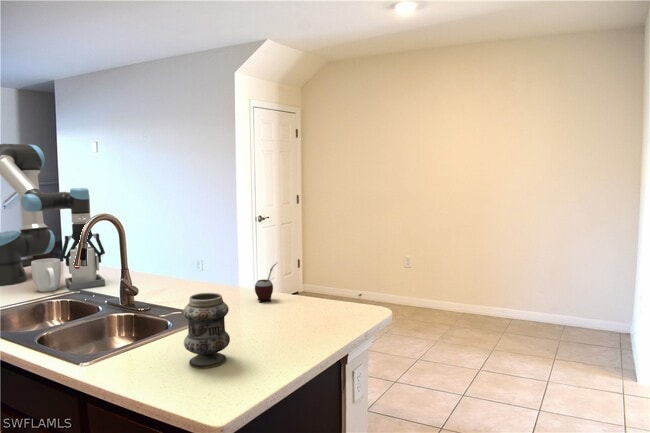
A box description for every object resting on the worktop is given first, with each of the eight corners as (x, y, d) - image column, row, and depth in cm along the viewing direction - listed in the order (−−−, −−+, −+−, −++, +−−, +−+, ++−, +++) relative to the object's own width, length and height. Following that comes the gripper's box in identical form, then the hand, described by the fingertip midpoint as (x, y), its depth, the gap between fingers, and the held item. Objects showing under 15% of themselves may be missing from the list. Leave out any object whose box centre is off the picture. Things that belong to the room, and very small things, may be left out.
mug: (68, 291, 207) (66, 261, 206) (39, 296, 200) (37, 265, 199) (57, 285, 218) (56, 257, 217) (30, 290, 211) (27, 260, 209)
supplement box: (71, 284, 213) (69, 250, 211) (75, 279, 221) (73, 247, 220) (94, 282, 215) (91, 249, 213) (97, 278, 224) (95, 246, 222)
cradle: (65, 284, 220) (65, 278, 220) (99, 280, 228) (98, 274, 228) (70, 290, 209) (69, 284, 208) (105, 286, 217) (104, 279, 216)
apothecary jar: (233, 352, 137) (231, 289, 135) (226, 369, 125) (224, 301, 123) (190, 353, 136) (188, 290, 135) (179, 371, 124) (176, 302, 123)
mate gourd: (251, 302, 188) (250, 264, 187) (263, 297, 195) (262, 260, 194) (267, 304, 185) (266, 265, 183) (278, 299, 192) (278, 262, 190)
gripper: (53, 225, 206) (56, 276, 208) (110, 221, 219) (113, 269, 221) (51, 223, 212) (54, 273, 214) (107, 220, 225) (109, 267, 227)
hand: (84, 271), depth 218 cm, fingers closed on supplement box, 10 cm apart
